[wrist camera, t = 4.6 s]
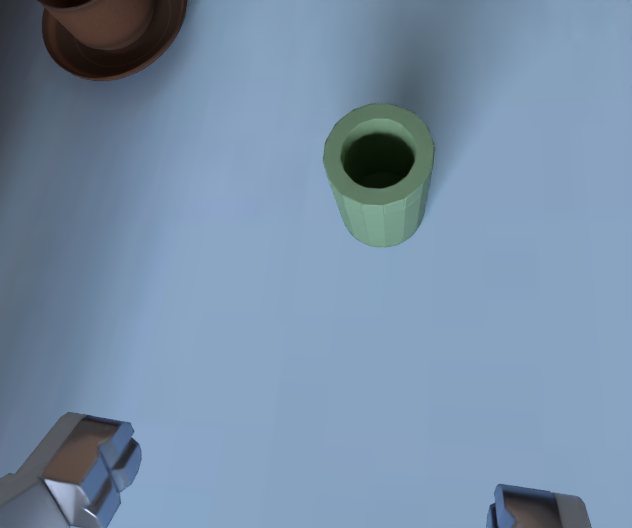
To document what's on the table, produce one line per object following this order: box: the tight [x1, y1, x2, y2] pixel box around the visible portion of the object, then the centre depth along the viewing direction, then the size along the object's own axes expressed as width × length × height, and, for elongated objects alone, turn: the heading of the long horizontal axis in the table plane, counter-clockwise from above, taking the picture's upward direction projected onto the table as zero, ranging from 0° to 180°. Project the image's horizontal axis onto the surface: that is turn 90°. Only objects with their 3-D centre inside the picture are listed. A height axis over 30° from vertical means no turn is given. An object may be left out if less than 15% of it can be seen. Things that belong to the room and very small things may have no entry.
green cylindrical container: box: [323, 103, 435, 247], centre depth 27 cm, size 5×5×8 cm
